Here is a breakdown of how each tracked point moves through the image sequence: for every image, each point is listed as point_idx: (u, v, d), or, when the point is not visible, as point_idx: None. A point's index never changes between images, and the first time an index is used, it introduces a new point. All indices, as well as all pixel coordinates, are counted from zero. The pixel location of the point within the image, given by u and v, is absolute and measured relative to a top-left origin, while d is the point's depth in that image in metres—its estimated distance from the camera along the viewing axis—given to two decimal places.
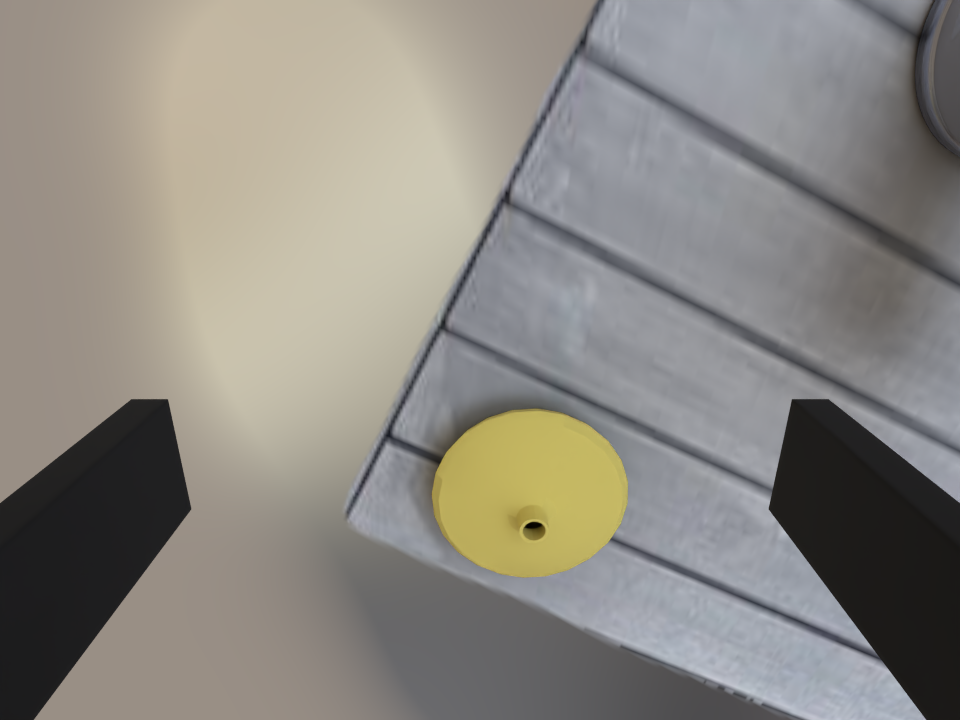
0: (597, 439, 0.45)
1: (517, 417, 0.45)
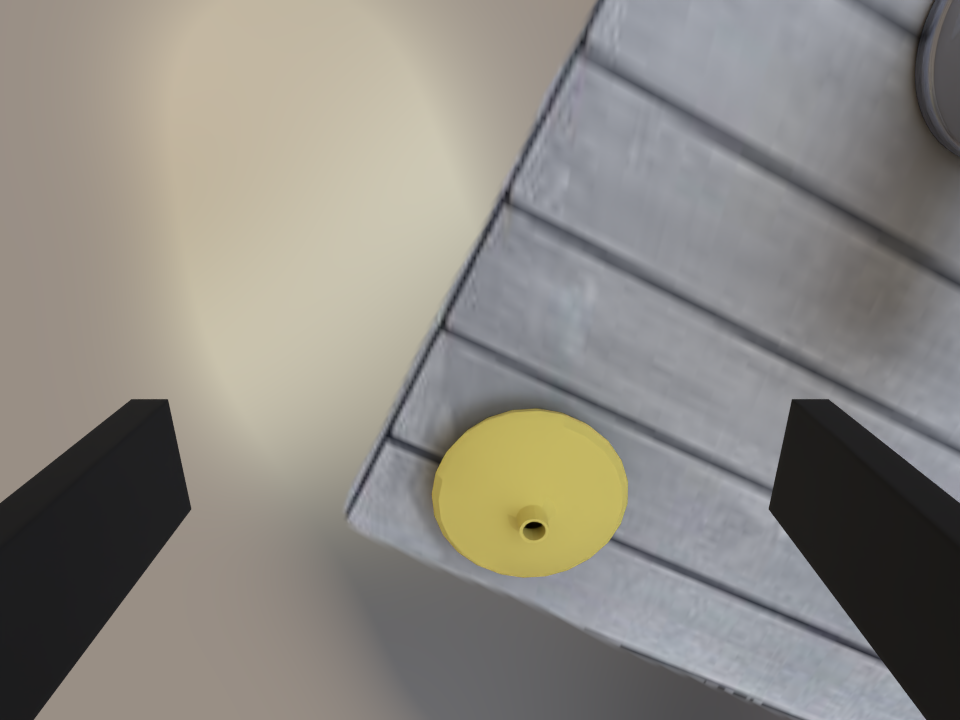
0: (597, 439, 0.45)
1: (517, 417, 0.45)
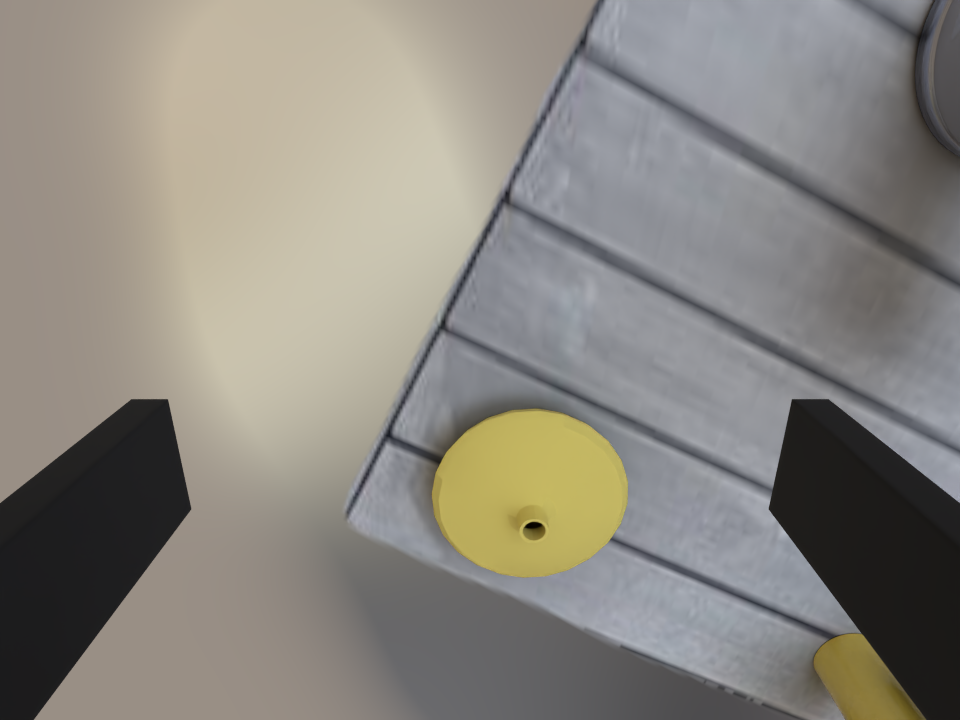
0: (597, 439, 0.45)
1: (517, 417, 0.45)
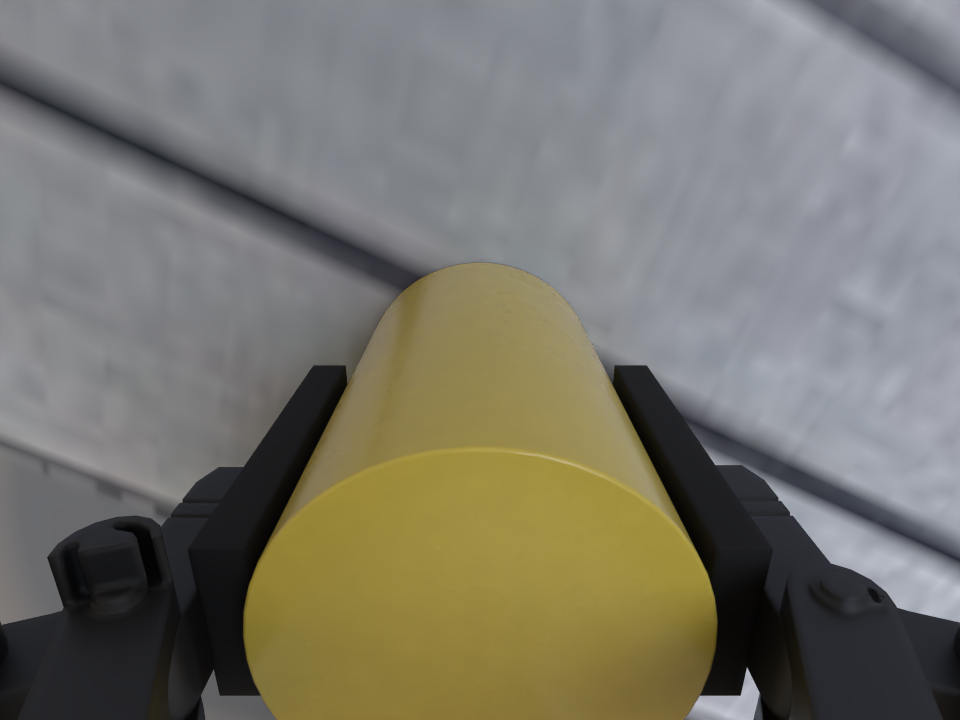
0: None
1: None
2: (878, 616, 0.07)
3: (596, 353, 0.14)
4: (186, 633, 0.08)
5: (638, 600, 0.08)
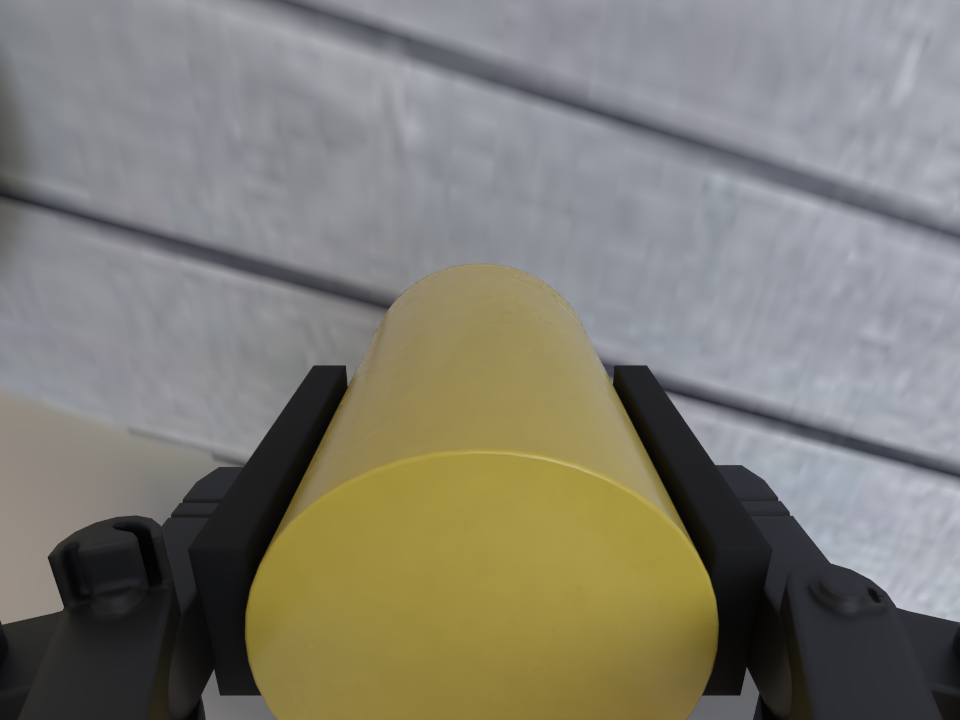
0: None
1: None
2: (878, 616, 0.07)
3: None
4: (186, 633, 0.08)
5: (640, 602, 0.08)
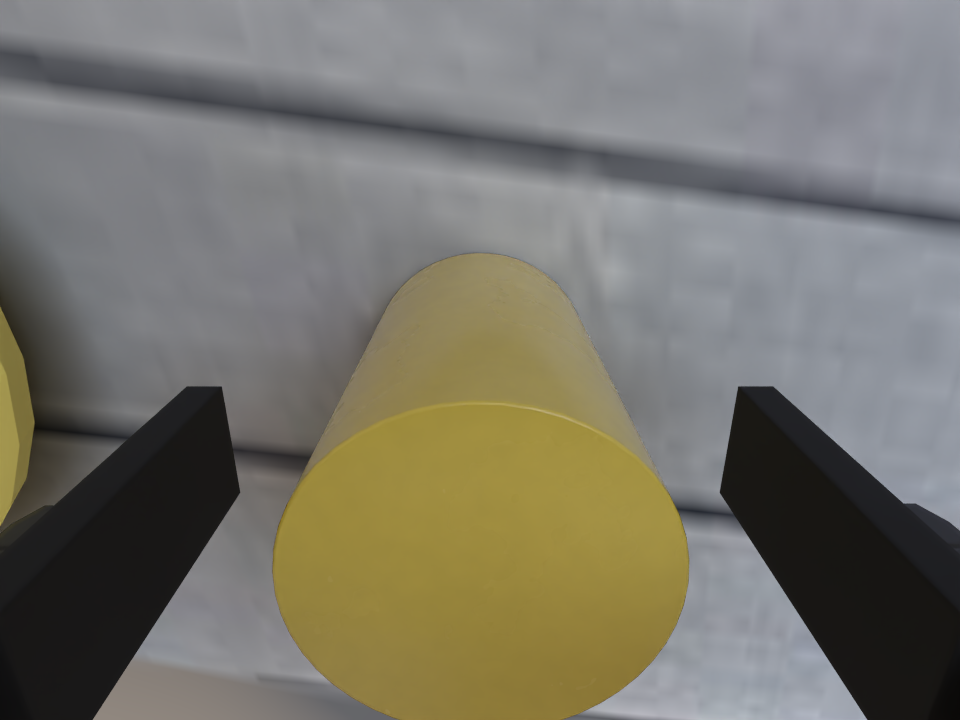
0: None
1: None
2: None
3: None
4: None
5: (619, 539, 0.09)
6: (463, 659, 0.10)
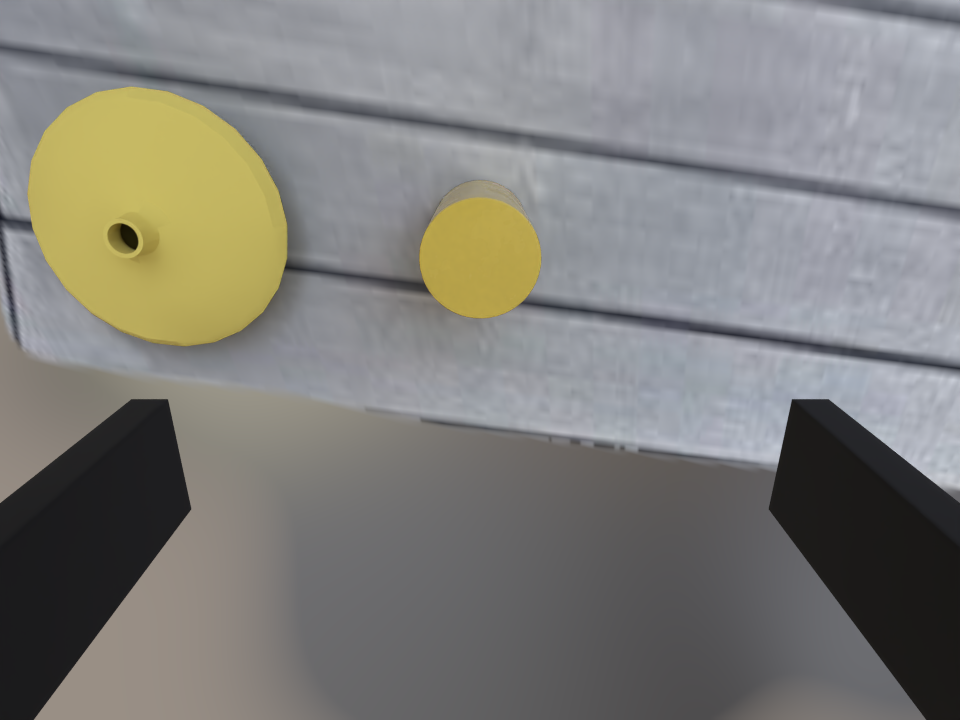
0: (182, 104, 0.34)
1: (71, 109, 0.34)
2: None
3: None
4: None
5: (519, 242, 0.31)
6: (474, 287, 0.31)
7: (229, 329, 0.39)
